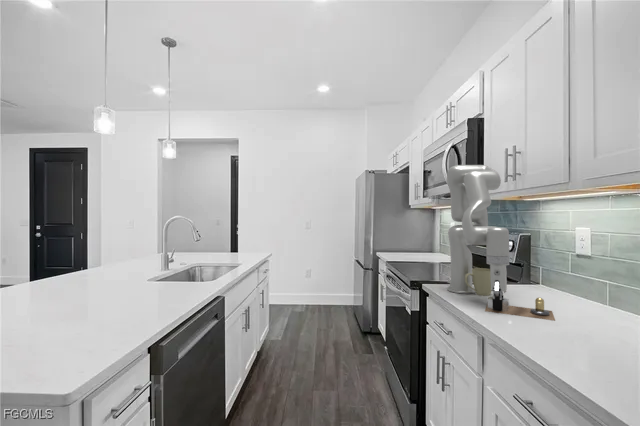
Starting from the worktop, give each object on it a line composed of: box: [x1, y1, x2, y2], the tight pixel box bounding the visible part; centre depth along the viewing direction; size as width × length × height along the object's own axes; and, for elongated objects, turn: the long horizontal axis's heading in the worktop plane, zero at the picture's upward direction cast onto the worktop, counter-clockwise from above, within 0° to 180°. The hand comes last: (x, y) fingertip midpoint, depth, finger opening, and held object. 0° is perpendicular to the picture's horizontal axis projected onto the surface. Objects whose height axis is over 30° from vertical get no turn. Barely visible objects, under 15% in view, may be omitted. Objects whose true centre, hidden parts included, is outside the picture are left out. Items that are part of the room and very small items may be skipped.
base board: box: [484, 302, 556, 322], centre depth 119 cm, size 21×13×1 cm, turn 58°
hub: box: [530, 297, 550, 316], centre depth 115 cm, size 6×6×6 cm
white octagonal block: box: [487, 296, 510, 311], centre depth 122 cm, size 7×7×4 cm
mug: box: [465, 267, 493, 297], centre depth 144 cm, size 11×10×12 cm
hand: (498, 307), depth 122 cm, fingers closed on white octagonal block, 6 cm apart
